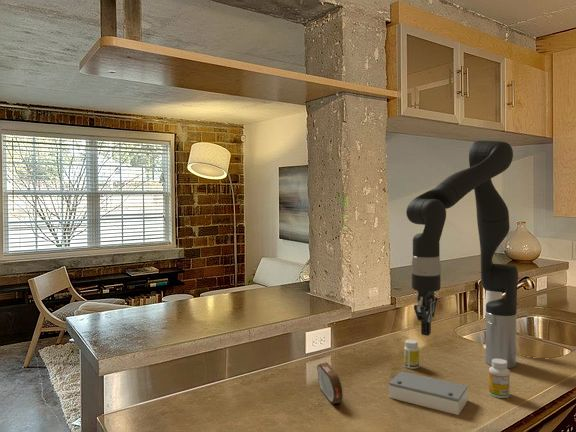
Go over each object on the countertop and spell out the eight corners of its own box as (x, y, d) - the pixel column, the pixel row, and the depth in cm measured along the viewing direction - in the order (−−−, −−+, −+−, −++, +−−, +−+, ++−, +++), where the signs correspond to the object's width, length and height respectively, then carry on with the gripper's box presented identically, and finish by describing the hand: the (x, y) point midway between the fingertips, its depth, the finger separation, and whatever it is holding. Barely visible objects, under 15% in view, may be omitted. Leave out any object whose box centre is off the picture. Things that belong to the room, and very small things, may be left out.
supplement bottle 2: (491, 388, 135) (492, 356, 135) (511, 393, 132) (512, 360, 131) (486, 395, 131) (486, 361, 130) (506, 400, 128) (507, 366, 127)
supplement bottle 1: (421, 365, 153) (421, 340, 153) (415, 370, 150) (415, 344, 149) (407, 362, 156) (407, 338, 156) (401, 366, 153) (401, 341, 152)
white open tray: (401, 384, 139) (401, 373, 139) (467, 400, 128) (467, 387, 128) (388, 397, 131) (388, 385, 130) (458, 415, 120) (458, 401, 120)
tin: (343, 408, 125) (343, 377, 124) (332, 409, 124) (332, 378, 124) (325, 385, 140) (325, 358, 139) (315, 386, 139) (315, 359, 138)
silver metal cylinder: (507, 348, 168) (508, 283, 166) (494, 351, 165) (495, 285, 163) (492, 343, 174) (492, 280, 172) (479, 346, 171) (479, 282, 170)
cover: (401, 373, 138) (401, 370, 138) (467, 387, 127) (467, 384, 127) (388, 384, 130) (388, 381, 130) (458, 401, 120) (458, 397, 120)
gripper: (432, 277, 118) (432, 344, 120) (446, 269, 129) (446, 330, 130) (403, 274, 123) (404, 339, 124) (420, 267, 134) (420, 326, 135)
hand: (426, 334), depth 127 cm, fingers closed
